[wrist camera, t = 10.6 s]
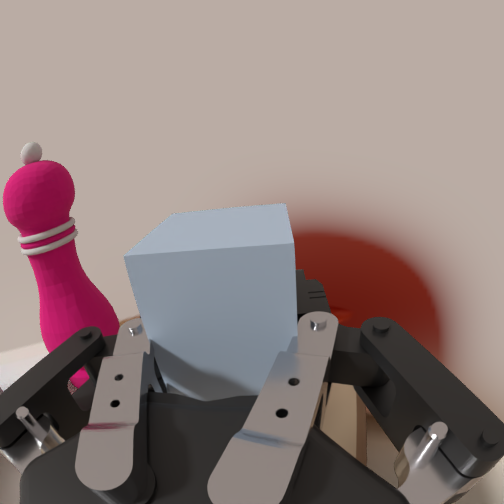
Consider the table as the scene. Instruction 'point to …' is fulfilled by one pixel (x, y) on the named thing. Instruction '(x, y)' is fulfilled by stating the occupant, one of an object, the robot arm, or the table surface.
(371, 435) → the table surface
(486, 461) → the robot arm
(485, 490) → the table surface
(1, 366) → the table surface
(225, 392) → the slate-blue block
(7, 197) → the pepper mill
